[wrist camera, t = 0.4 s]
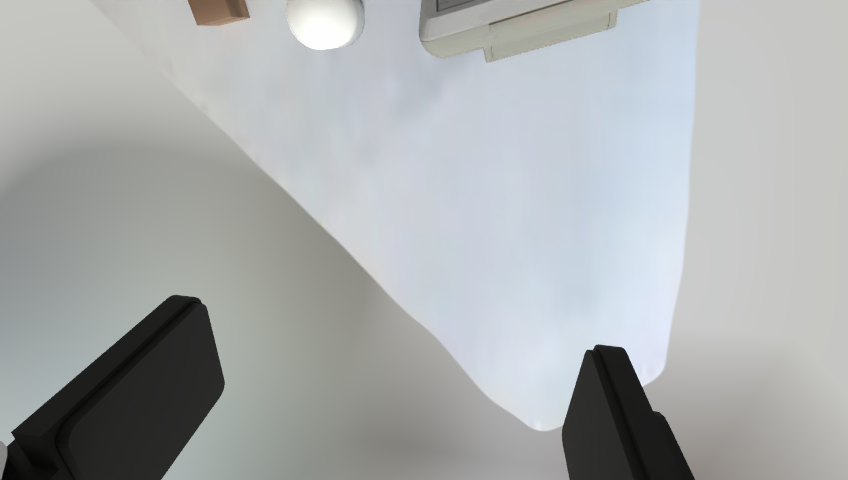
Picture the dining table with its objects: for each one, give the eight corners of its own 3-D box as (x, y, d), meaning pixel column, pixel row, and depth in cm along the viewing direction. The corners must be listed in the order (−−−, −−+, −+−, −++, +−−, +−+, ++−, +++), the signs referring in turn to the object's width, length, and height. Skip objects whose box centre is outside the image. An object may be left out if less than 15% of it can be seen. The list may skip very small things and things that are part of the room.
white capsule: (310, -17, 32) (283, -25, 28) (364, -13, 32) (346, -20, 28) (313, 44, 34) (288, 47, 30) (364, 48, 34) (347, 52, 30)
